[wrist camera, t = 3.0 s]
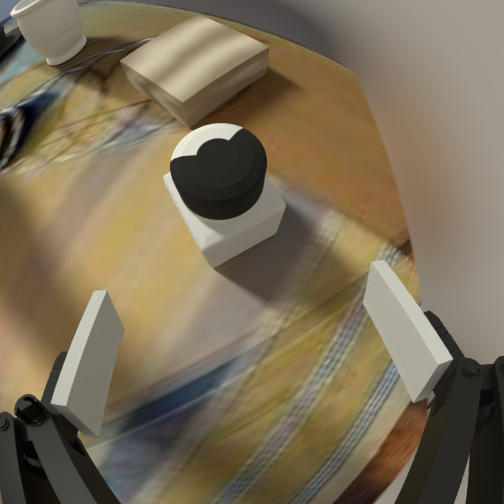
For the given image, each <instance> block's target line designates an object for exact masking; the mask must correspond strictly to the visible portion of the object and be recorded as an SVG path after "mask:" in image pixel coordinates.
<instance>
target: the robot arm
mask: <svg viewBox="0 0 504 504" xmlns="http://www.w3.org/2000/svg"><path fill="white" fill-rule="evenodd" d="M363 304H364V306H365V308H366V310H367V312H368V313H369V315H370V317H371V319H372V321H373V323H374V325H375V326H376V328H377V330H378V332H379V334H380V336H381V338H382V340H383V342H384V344H385V346H386V348H387V350H388V352H389V353H390V355H391V357H392V359H393V361H394V363H395V365H396V368H397V370H398V372H399V374H400V376H401V378H402V380H403V382H404V384H405V386H406V388H407V390H408V393H409V395H410V397H411V399H412V401H413V403H414V402H417V401H420V400H422V399H425V398H427V397H428V396H429V395H430V393H431V392H432V390H433V392H434V394H435V395H436V396H435V397H434V398H433V400H432V401H431V402H430V403H429V405H428V407H427V408H426V409H429V408H430V407H431V409H430V413H429V416H428V420H427V423H426V426H425V429H424V432H423V435H422V438H421V441H420V444H419V447H418V450H417V452H416V455H415V458H414V461H413V463H412V466H411V468H410V470H409V473H408V475H407V477H406V480H405V482H404V484H403V487H402V489H401V491H400V493H399V495H398V497H397V499H396V501H395V504H454V502H455V499H456V496H457V493H458V490H459V487H460V484H461V481H462V478H463V475H464V471H465V467H466V464H467V461H468V457H469V453H470V461H469V478H468V488H467V497H466V504H504V356H500V357H498V358H497V359H496V361H495V362H494V364H485V365H480V364H479V363H478V362H477V361H475V360H473V359H471V358H465V356H464V355H463V353H462V352H461V350H460V349H459V347H458V346H457V344H456V343H455V341H454V340H453V338H452V337H451V335H450V334H449V333H448V331H447V329H446V328H445V327H444V325H443V323H442V322H441V321H440V319H439V318H438V317H437V316H436V315H435V314H433V313H432V312H431V311H427V312H422V310H421V309H420V308H419V306H418V305H417V303H416V302H415V301H414V299H413V298H412V296H411V295H410V294H409V292H408V291H407V289H406V288H405V287H404V285H403V284H402V283H401V281H400V280H399V279H398V277H397V276H396V275H395V273H394V272H393V271H392V269H391V268H390V267H389V265H388V264H387V263H386V261H385V260H380V261H373V262H371V266H370V271H369V277H368V281H367V286H366V291H365V296H364V300H363ZM123 332H124V327H123V325H122V323H121V321H120V318H119V316H118V314H117V312H116V310H115V307H114V305H113V303H112V301H111V298H110V296H109V294H108V291H107V290H100V291H94V292H93V295H92V297H91V299H90V301H89V303H88V306H87V308H86V310H85V312H84V315H83V317H82V319H81V322H80V324H79V326H78V329H77V331H76V334H75V336H74V338H73V341H72V343H71V346H70V349H69V351H68V352H64V351H62V352H61V354H60V355H59V356H58V357H57V359H56V360H55V363H54V365H53V368H52V371H51V373H50V376H49V377H50V378H49V379H48V381H47V384H46V387H45V390H44V393H43V396H42V399H41V402H40V401H39V400H38V399H37V398H36V397H35V396H33V395H32V394H26V395H24V396H22V397H21V398H19V399H18V401H17V402H16V404H15V408H14V412H15V415H16V416H17V418H14V417H13V416H12V415H11V414H10V413H8V412H2V413H0V491H1V496H2V501H3V504H121V503H120V502H119V500H118V499H117V498H116V496H115V495H114V493H113V492H112V491H111V489H110V488H109V486H108V485H107V483H106V482H105V480H104V479H103V477H102V476H101V474H100V473H99V471H98V469H97V468H96V466H95V465H94V463H93V461H92V460H91V458H90V456H89V455H88V453H87V451H86V449H85V448H84V446H83V444H82V442H81V440H80V439H79V438H78V437H77V434H78V430H79V431H80V432H81V433H82V434H83V435H84V436H89V437H96V438H100V432H101V427H102V422H103V416H104V411H105V406H106V401H107V397H108V392H109V388H110V383H111V379H112V375H113V371H114V366H115V362H116V358H117V355H118V351H119V347H120V343H121V339H122V336H123ZM431 405H432V406H431ZM60 502H61V503H60Z"/></svg>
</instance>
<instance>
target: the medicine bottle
mask: <svg viewBox="0 0 504 504" xmlns="http://www.w3.org/2000/svg"><path fill="white" fill-rule="evenodd" d="M266 168H267V157H266V153H265V150H264V147H263V146H262V144H261V142H260V141H259V140H258V138H257V137H256V136H255V135H253V134H252V133H251V132H250V131H248V130H246V129H244V128H242V127H240V126H236V125H233V124H226V123H217V124H210V125H206V126H203V127H200V128H198V129H196V130H194V131H192V132H190V133H189V134H188V135H186V136H185V137H184V138H183V139H182V140H181V141H180V142H179V144H178V145H177V147H176V148H175V150H174V152H173V155H172V158H171V163H170V172H169V173H167V174H166V175H164V177H163V181H164V183H165V185H166V187H167V189H168V191H169V193H170V195H171V197H172V198H173V200H174V202H175V204H176V206H177V208H178V210H179V212H180V214H181V216H182V218H183V219H184V221H185V223H186V225H187V227H188V229H189V231H190V233H191V234H192V236H193V238H194V240H195V242H196V244H197V246H198V247H199V249H200V251H201V253H202V254H203V256H204V257H205V259H206V261H207V262H208V264H209V265H210V267H212V268H215V267H217V266H219V265H220V264H222V263H224V262H226V261H228V260H229V259H231V258H233V257H235V256H236V255H238V254H240V253H242V252H244V251H245V250H247V249H249V248H251V247H253V246H254V245H256V244H258V243H260V242H261V241H263V240H265V239H267V238H269V237H270V236H272V235H274V234H275V233H276V232H277V230H278V227H279V224H280V222H281V219H282V216H283V213H284V211H285V208H286V204H285V202H284V200H283V199H282V197H281V196H280V194H279V193H278V191H277V190H276V188H275V187H274V185H273V184H272V182H271V181H270V179H269V178H268V176H267V175H266Z"/></svg>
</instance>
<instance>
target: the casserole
mask: <svg viewBox="0 0 504 504" xmlns="http://www.w3.org/2000/svg"><path fill="white" fill-rule="evenodd" d="M4 27H5V26H4V25H2V26H1V25H0V58H1V56H2V55H3V54H4V53H5V52H6V51H7V50H9V49H10V48H11V47H12V46H13V45H14V44H15V43H16V42H17V41H18V39H19V38H20V37H21V35H22V33H21V31H20V28H19V27H17V28H15V29H13V30H12V31H10V32H9V33H7V34H5V32H4Z"/></svg>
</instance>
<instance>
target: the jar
mask: <svg viewBox="0 0 504 504" xmlns="http://www.w3.org/2000/svg"><path fill="white" fill-rule="evenodd" d="M10 14H11V16H12V17H13V18H17V22H18V26H19V28H20V31H21V33H22V35H23V37H24V38H25V39H26V41H27V42H28V43H29V44H30V45H31V46H32V47H33V48H34V49H35V50H36V51H37V52H38V53H39V54H40V55H42V56H44V57H46V58H47V63H48V64H49V65H51V66H54V65H59V64H61V63H64V62H66V61H67V60H69V59H71V58H72V57H74V56H75V55H76V54H77V53H78V52H79V51H81V49H82V48H83V47H84V46H85V44H86V41H87V38H86V37H85V36H84V35H82V29H83V26H82V20H81V17H80V11H79V7H78V4H77V1H76V0H22V1H20V2H19V3H18V4H17V5H16V6H15V7H14V8H13V10H12V11H11V13H10Z"/></svg>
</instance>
